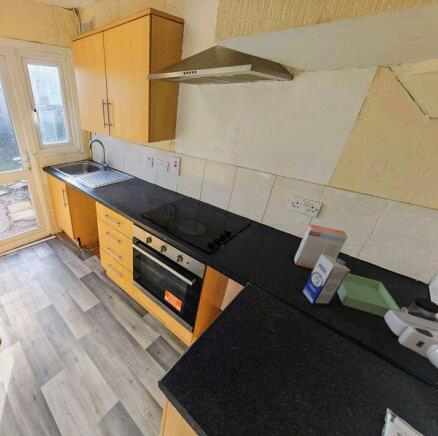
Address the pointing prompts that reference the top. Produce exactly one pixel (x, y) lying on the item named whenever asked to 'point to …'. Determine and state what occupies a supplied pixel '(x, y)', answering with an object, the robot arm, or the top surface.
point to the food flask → (423, 308)
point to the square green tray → (366, 295)
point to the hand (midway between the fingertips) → (417, 312)
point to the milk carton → (325, 280)
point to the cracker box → (319, 245)
